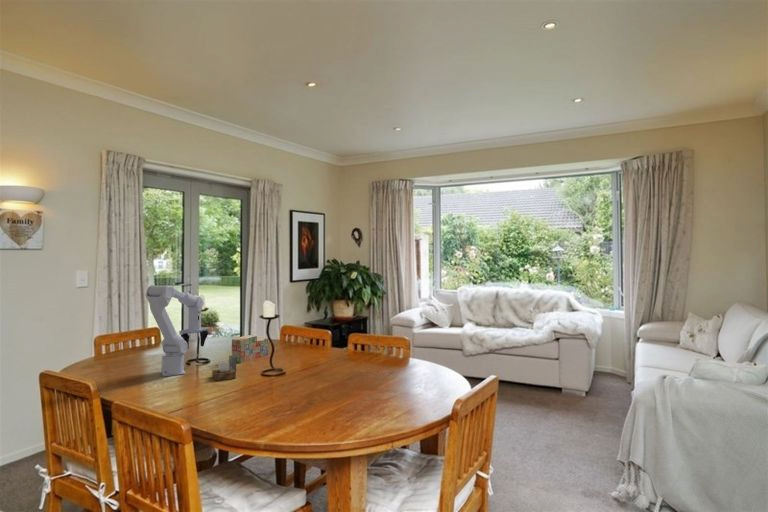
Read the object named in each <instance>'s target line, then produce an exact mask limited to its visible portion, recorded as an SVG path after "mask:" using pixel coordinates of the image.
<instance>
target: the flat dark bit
mask: <svg viewBox="0 0 768 512" xmlns="http://www.w3.org/2000/svg"><path fill="white" fill-rule="evenodd" d="M228 362H229V368H232V369H233V370H234V371H235V372H236V373H237V362H236V357H235V356H234V355H232V354H231V355H229V356H228Z"/></svg>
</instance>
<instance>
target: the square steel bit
mask: <svg viewBox="0 0 768 512" xmlns="http://www.w3.org/2000/svg"><path fill="white" fill-rule="evenodd" d="M217 363H218V366H217V367H218V373H224V372H229V360H224V361H218V362H217Z"/></svg>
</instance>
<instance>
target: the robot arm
mask: <svg viewBox="0 0 768 512" xmlns="http://www.w3.org/2000/svg"><path fill="white" fill-rule="evenodd" d="M145 297H146V299H147V302H148V304H149V309H150V312H151V314H152V316H153V318H154V321H155V323H156V324H157V327H158V328H159V331H160V333H161V334H162V336H163V340H162V341H161V347H162V351H163V353H165V355H162V356H161V368H160V370H161V371H160V372H161V375H162V377H172V376H179V375H185V374H186V371H185V370H184V369H185V368H184V366H185V363H184V362H185V360H184V359H185V358H184V355H185V354H186V353H187V351H188V350H189V347H190V346H189V342H190V334H197V333H199V336H200V337H199V339H200V347H204V346H205V343H206V339H207V337H208V335H209V332H210V327H208V326H207V327H206V326H205V327H202V312H203V306H204V304H205V303H204V299H203V298H202V297H200V296H197V295H195V294H194V293H193V294H191V293H190V291H189V290H188V291H183V292H181V291H180V290H178V289H176V288H175V287H174V286H171V285H154V284H151V285H150V286H148V287H147V290H146V293H145ZM172 298H173V299H177V300H178V301H177V302H179V303H180V304H182V305H184V306H185V305H186V308H187V309H188V328H187V329H181V330H178V331H179V333H178V334H177V331H176V329H175V326H174V325H173V323H172V321H171V318H170V317H169V314H168V312H167V310H166V307H168V305H169V304H170V302H171V301H172ZM198 316H199V320H198Z"/></svg>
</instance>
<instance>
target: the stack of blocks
mask: <svg viewBox="0 0 768 512" xmlns="http://www.w3.org/2000/svg"><path fill="white" fill-rule="evenodd" d="M268 341H269V339H268V338H267V337H266V338H265V337H258V336H257V335H251V334H250V335H249V334H248V335H242V336H240V337H235V338H232V339H231V355H234V356H235V357H236V364H237V363H238V364H243V363H245V362H249V361H252V360H255V359H259V358H261V357H264V356H267V355H268V354H269V353H268V352H269V344H268V343H269V342H268Z"/></svg>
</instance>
